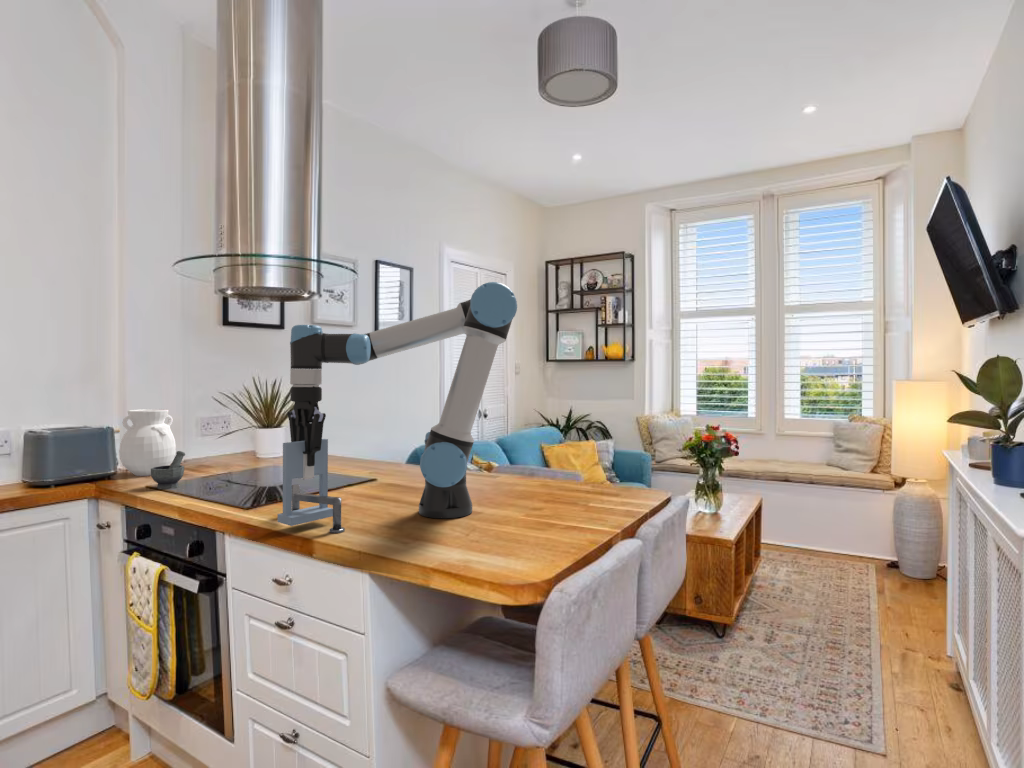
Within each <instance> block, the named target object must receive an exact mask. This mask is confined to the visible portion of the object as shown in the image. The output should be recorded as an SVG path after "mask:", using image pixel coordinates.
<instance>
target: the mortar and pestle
mask: <svg viewBox="0 0 1024 768" xmlns="http://www.w3.org/2000/svg"><path fill="white" fill-rule="evenodd" d="M185 456H186V453H185V452H184V451H181V450H177V451H176V453H175V456H174V459H173V461H172V462H171V464H170V465H168V466H159V467H153V468H151V476H150V477H151V478H152V479H153V481H154V482H155V483H156V484H157V485H156V489H158V490H169V489H170V490H171V489H176V488H178V487H179V481H180V480H181V479H182V478H183V476H184V473H185V466H184V465H181V464H182V461H183V460H184V459H183V458H184V457H185Z"/></svg>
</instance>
